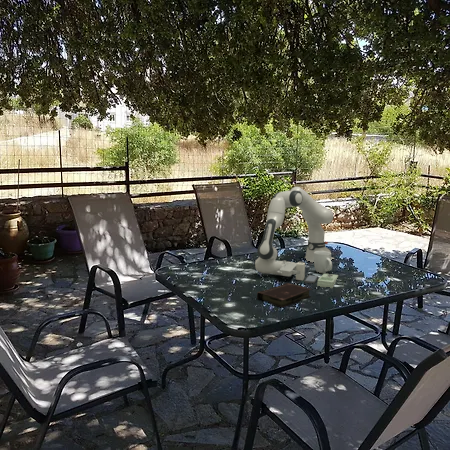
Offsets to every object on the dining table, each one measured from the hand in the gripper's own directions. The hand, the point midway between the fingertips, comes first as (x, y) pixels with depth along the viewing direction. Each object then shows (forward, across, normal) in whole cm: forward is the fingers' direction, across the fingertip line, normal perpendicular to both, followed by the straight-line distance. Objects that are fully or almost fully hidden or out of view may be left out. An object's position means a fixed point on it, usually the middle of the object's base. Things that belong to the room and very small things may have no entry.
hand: (301, 270), depth 275 cm
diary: (-1, -38, +6) cm, 39 cm away
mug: (+10, +20, +6) cm, 23 cm away
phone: (+6, 0, +6) cm, 8 cm away
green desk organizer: (+16, 0, +6) cm, 17 cm away
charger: (-1, 0, +6) cm, 6 cm away
